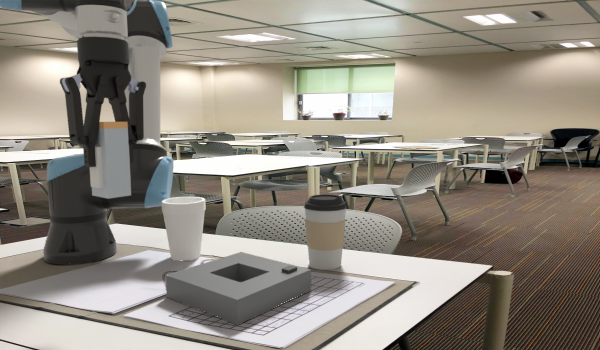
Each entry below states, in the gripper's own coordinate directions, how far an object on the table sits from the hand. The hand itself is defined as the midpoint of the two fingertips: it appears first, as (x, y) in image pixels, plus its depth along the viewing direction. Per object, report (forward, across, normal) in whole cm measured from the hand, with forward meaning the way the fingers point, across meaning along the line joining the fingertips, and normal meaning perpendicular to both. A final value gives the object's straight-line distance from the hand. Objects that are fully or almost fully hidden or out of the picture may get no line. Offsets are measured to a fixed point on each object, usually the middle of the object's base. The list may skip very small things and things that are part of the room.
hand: (111, 185), depth 77 cm
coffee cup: (+21, +39, -15) cm, 47 cm away
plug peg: (+2, 0, 0) cm, 2 cm away
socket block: (+20, +16, -13) cm, 29 cm away
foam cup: (+21, +24, +13) cm, 34 cm away
